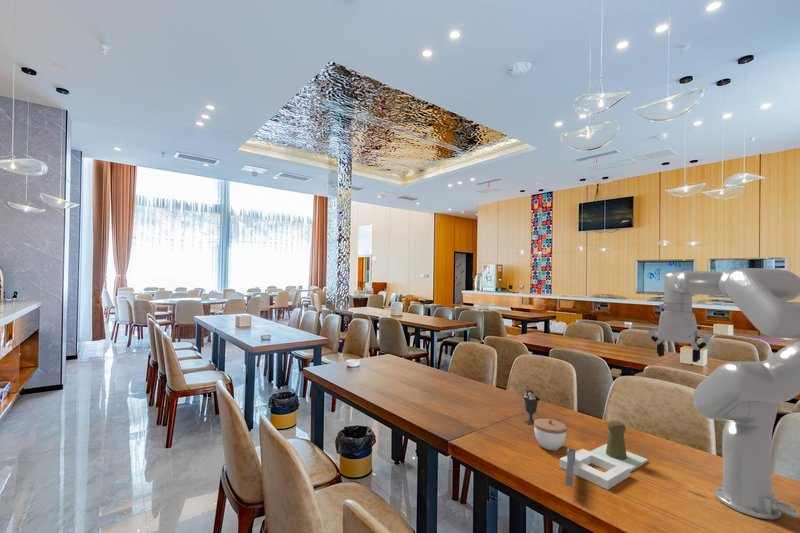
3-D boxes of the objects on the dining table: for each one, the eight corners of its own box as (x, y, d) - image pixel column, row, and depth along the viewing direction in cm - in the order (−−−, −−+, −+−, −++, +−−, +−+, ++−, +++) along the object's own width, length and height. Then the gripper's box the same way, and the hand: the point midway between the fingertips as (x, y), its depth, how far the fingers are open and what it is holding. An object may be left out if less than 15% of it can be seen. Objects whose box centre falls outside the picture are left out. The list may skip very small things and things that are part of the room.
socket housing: (629, 476, 108) (629, 467, 108) (607, 489, 100) (607, 480, 101) (582, 456, 120) (582, 447, 120) (559, 466, 112) (559, 458, 112)
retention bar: (574, 487, 96) (574, 478, 96) (564, 484, 97) (564, 475, 97) (575, 456, 113) (575, 449, 113) (566, 455, 114) (567, 447, 114)
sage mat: (647, 461, 118) (647, 459, 118) (629, 472, 110) (629, 469, 110) (606, 445, 128) (606, 443, 128) (587, 454, 121) (587, 452, 121)
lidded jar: (532, 449, 124) (532, 421, 124) (534, 437, 134) (535, 411, 134) (566, 456, 119) (566, 427, 120) (566, 443, 129) (566, 417, 130)
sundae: (518, 420, 150) (519, 384, 151) (532, 418, 152) (532, 383, 153) (528, 426, 144) (529, 388, 144) (542, 424, 146) (543, 387, 146)
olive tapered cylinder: (630, 460, 116) (630, 426, 117) (609, 458, 117) (610, 424, 118) (622, 452, 122) (622, 419, 123) (603, 450, 123) (603, 417, 124)
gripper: (644, 306, 128) (644, 355, 127) (706, 310, 113) (706, 365, 113) (653, 306, 132) (653, 353, 131) (713, 310, 118) (714, 362, 117)
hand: (677, 358), depth 122 cm, fingers open, 9 cm apart
